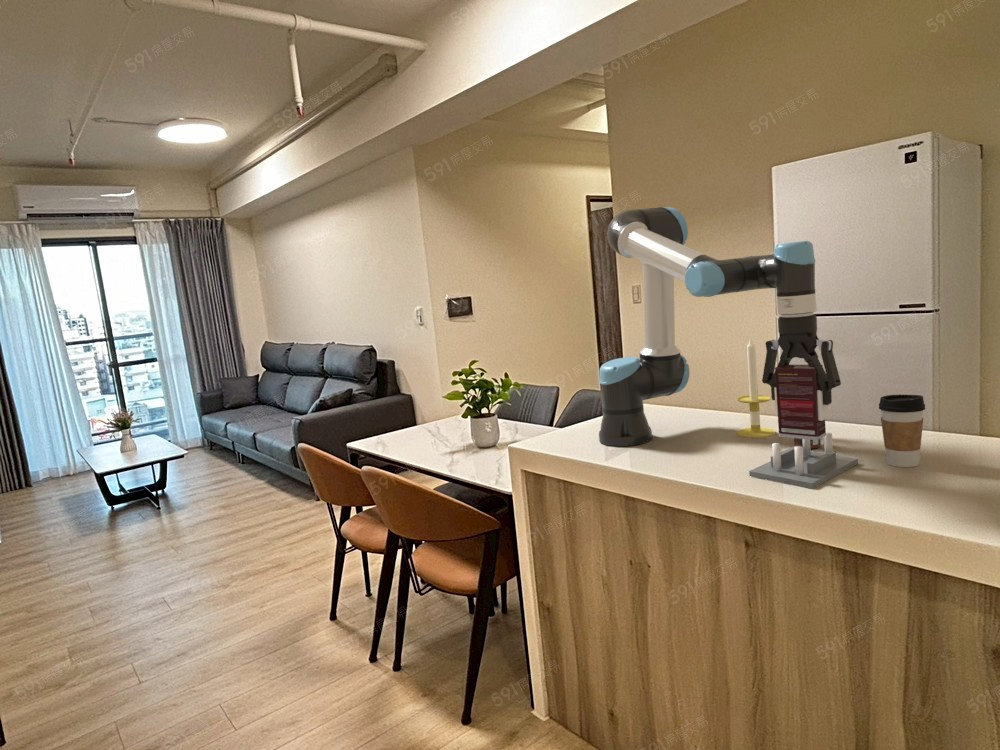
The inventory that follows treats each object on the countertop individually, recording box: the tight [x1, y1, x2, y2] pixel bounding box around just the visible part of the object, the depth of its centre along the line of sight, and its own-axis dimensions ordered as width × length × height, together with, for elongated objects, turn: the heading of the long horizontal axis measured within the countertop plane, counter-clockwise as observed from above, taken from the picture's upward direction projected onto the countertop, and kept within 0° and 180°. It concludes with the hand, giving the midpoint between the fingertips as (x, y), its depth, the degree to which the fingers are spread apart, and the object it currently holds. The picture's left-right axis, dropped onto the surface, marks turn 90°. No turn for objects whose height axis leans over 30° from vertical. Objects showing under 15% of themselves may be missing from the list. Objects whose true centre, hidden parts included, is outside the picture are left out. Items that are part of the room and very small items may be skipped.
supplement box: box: [774, 364, 827, 440], centre depth 134 cm, size 9×5×16 cm, turn 42°
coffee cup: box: [878, 394, 926, 468], centre depth 132 cm, size 8×8×15 cm
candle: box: [736, 336, 776, 439], centre depth 167 cm, size 10×10×27 cm
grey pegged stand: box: [748, 432, 859, 490], centre depth 136 cm, size 14×20×7 cm
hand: (801, 416), depth 135 cm, fingers closed on supplement box, 9 cm apart
